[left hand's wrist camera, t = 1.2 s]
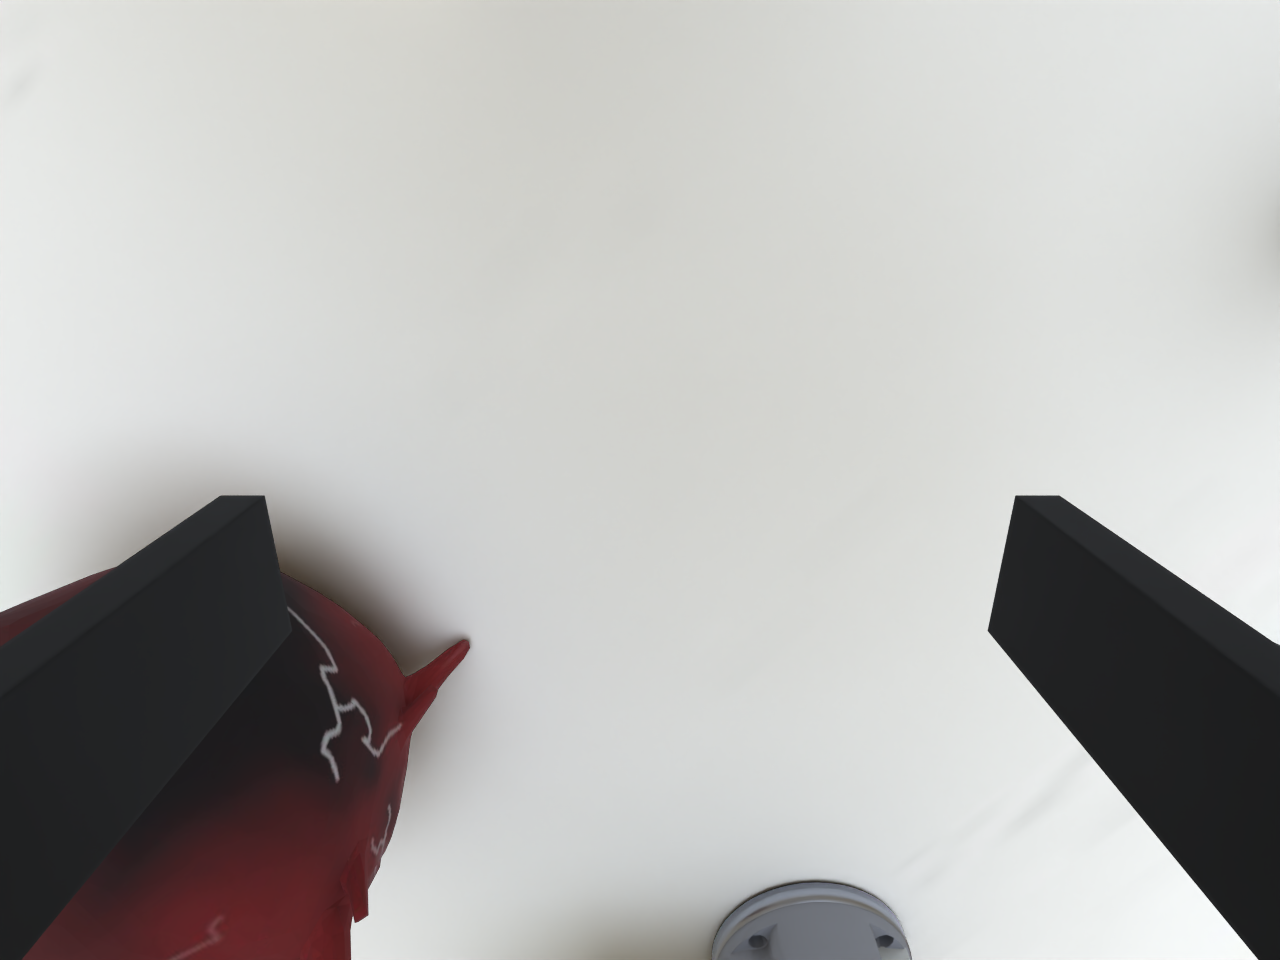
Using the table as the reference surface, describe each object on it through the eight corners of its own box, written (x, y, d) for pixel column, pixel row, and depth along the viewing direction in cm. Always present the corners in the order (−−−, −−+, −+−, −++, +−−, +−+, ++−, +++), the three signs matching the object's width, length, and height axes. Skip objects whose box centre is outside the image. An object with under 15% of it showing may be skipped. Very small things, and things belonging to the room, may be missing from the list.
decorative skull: (196, 1111, 41) (430, 1050, 28) (-331, 1009, 31) (-325, 851, 19) (337, 761, 57) (525, 627, 45) (20, 624, 47) (148, 404, 35)
